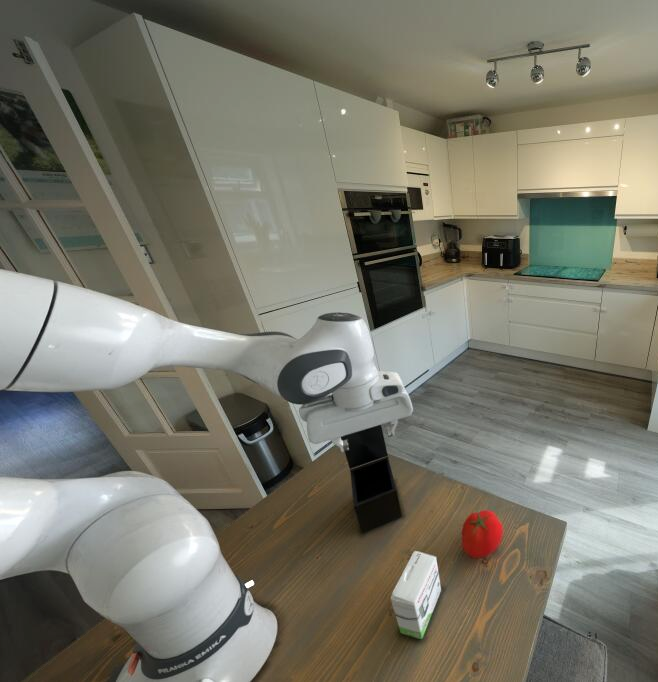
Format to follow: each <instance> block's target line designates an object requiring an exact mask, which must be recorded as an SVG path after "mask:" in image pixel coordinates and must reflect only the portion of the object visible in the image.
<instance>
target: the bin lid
mask: <svg viewBox="0 0 658 682" xmlns="http://www.w3.org/2000/svg"><path fill="white" fill-rule="evenodd" d="M340 439H341V440H343V441H344V440H347V442H348V446H349V450H348V451H345V452H344V454H345V457H346V461H347V465H348V468H349V470H350V469H353V468H356V467H359V466H362V465H365V464H368V463H371V462H373V461H376V460H379V459H382V458H385V457H389V455H388V450H387V444H386V440H385V436H384V431H383V427H382V424H381V425H378V426H375V427H371V428H368V429H365V430H361V431H358V432H355V433H351V434H348V435H345V436H342V437H340Z"/></svg>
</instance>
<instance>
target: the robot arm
mask: <svg viewBox="0 0 658 682" xmlns="http://www.w3.org/2000/svg"><path fill="white" fill-rule="evenodd" d="M374 357H375V351H374V345H373V342H372V337H371V334H370V331H369V328H368V325H367V323H366V321H365V320H364V318H362V317H361V316H359V315H356V314H353V313H349V312H327V313H323V314H321V315H319V316H317V318H316V320H315V322H314V324H313V325H312V327H311V328H310V329H309V330H308V331H307V332H306V333H305V334H303V335H302V337H300V338H299V339H298V338H296V337H294V336H293V335H291V334H288V333H286V332H283V331H263V332H262V331H261V332H253V333H237V332H231V331H225V330H220V329H215V328H210V327H206V326H205V327H204V326H200V325H194V324H189V323H185V322H179V321H177V320H173V319H171V318H170V317H169V318H168V317H166V316H163V315H162V314H159V313H157V312H155V311H153V310H150V309H149V308H146V307H144V306H141V305H139V304H136V303H134V302H131V301H127V300H125V299H122V298H119V297H116V296H113V295H110V294H107V293H103V292H100V291H96V290H94V289H89V288H85V287H82V286H79V285H74V284H71V283H67V282H62V281H59V280H53V279H50V278H46V277H45V278H44V277H40V276H36V275H31V274H27V273H23V272H22V273H21V272H18V271H13V270H7V269H3V268H0V391H2V390H4V391H15V392H17V391H18V392H32V393H33V392H35V393H37V392H38V393H69V392H70V393H75V392H77V393H78V392H93V391H108V390H109V391H110V390H115V389H118V388H120V387H123V386H126V385H128V384H131V383H132V382H134V381H136V380H138V379H140V378H141V377H144V375H146V374H147V373H148V372H150V371H151V370H153V369H156V368H162V367H183V368H191V369H192V368H193V369H194V368H195V369H205V370H218V371H224V372H225V371H227V372H233V373H236V374H238V375H240V376H241V377H243V378H245V379H246V380H249V381H251V382H253V383H255V384H257V385H260V386H261V387H262V388H264V389H266V390H268V391H270V392H271V393H272V394H274V395H276V396H277V397H279V398H282V399H283V400H285V401H286V402H288V403H290V404H293V405H299V406H300V405H301V406H300V407H299V409H298V413H299V417H300V419H301V420H302V421H303V422H305V423H306V431H307V437H308V441H309V443H311V444H314V445H319V444H322V443H325V442H328V441H331V443H332V444H333V445H335V446H336V447H338V448H339V449H340V452H341V453H345V451H348V450H349V446H348V442H347V440H344V441H343V440H341V437H342V436H345V435H348V434H351V433H355V432H358V431H361V430H365V429H368V428H371V427H375V426H378V425H381V426H382V425H385V424H387V423H390V424H389V426H385V430H386V435H387V437H388V438H392V437H394V436H396V432H395V430H396V428H397V427H398V424H399V420H401V419H404V418H407V417H410V416H411V415H412V414H413V412H414V407H413V403H412V400H411V397H410V395H409V392H408V391H407V389H406V386H405V385H404V383H403V380H402V378H401V376H400V375H399V373H398V372H397V371H390V370H389V371H387V370H378V368H377V367H376V365H375V362H374ZM41 571H56V572H61V573H65V574H68V575H69V576H70V577H71V579H72V580H73V582H74V584H75V586H76V588H77V590H78V592H79V594H80V596H81V598H82V601H84V603H86V605H88V606H89V607H90V608H91V609H92V610H93V611H95V612H96V613H98V614H99V615H100V616H102V617H103V618H104V619H106V620H107V621H109V622H110V623H112V624H114V625H117V626H119V627H120V628H122V629H123V630H124V631H125V632H127V633H128V635H129V636H130V637H132V638H133V640H134V641H135V643H134V646H133V648H132V651H131V653H132V654H131V655H130V657H128V659H127V661H126V663H124V664H121V665H118V666H115V667H114V668H113V670H112V672H111V674H110V675H109V678H108V679H107V681H106V682H252V680H253V679H254V678H255V677H256V675H257V674H258V673H259V672H260V671H261V669H262V667H263V666H264V665H265V663H266V661H267V660H268V658H269V656H270V655H271V652H272V650H273V647H274V645H275V642H276V638H277V635H278V621H277V617H276V615H275V614H274V612H273V611H272V610H271V609H269V608H266V607H264V606H261V605H260V604H258V603H257V602H255V601H254V599H253V595H252V593H251V591H250V590H249V588H250V587H252V586H254V585H255V582H254V581H253V580H250V581H248V582H246V583H245V582H244V581H243V580H242V578H241V577H240V576H239V575H237V574H235V573H234V572H233V570H232V569H231V567H230V565H229V564H228V562H227V560H226V559H225V557H224V556H223V553H222V550H221V546H220V544H219V541H218V538H217V536H216V534H215V531H214V529H213V528H212V525H211V524H210V522H209V520H208V519H207V518H206V517H205V516H204V515H203V514H202V513H201V512H200V511H199V510H198V509H197V508H196V507H195V506H193V505H192V504H191V502H190V501H188V500H187V499H186V498H184V497H183V496H182V495H181V494H180V492H178V490H176V489H175V488H174V487H173V486H172V485H171V483H169V482H168V481H166V480H164V479H162V478H160V477H157V476H154V475H152V474H149V473H145V472H142V471H138V470H137V471H136V470H123V471H116V472H112V473H107V474H105V475H101V476H99V477H98V476H97V477H79V478H78V477H77V478H26V477H25V478H23V477H13V476H1V475H0V580H1V581H2V580H5V579H7V578H12V577H16V576H21V575H24V574H29V573H35V572H41Z"/></svg>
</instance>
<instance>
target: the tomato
mask: <svg viewBox="0 0 658 682" xmlns="http://www.w3.org/2000/svg"><path fill="white" fill-rule="evenodd" d="M503 534H504V528H503V524H502V522H501V521H500V520H499V518H498V516H497V515H496V514H495V513H494V512H493V511H491V510H486V509H484V510H481V511H477V512H471V514H469V515H468V517H466V518H465V520H464V522H463V525H462V529H461V547H462V549H463V550H464V552H465V553H466V554H467V555H468V556H469V557H471V558H473V559H480V558H486V557H488V556H490V555H491V554H493V553H494V552H496V550H497V549H498V548H499V545H500V543H501V542H502V538H503Z"/></svg>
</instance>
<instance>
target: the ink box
mask: <svg viewBox="0 0 658 682" xmlns="http://www.w3.org/2000/svg"><path fill="white" fill-rule="evenodd" d="M441 592H442V587H441V581H440V573H439V567H438V561H437V556H436V555H432V554H429V553H425V552H422V551H417V550H415V551H413V553H412V554H411V556H410V558H409V560H408V562H407V563H406V566H405V567H404V569H403V571H402V573H401V575H400V577H399V579H398V580H397V582H396V585H395V587H394V589H393V590H392V593H391V596H390V601H391V605H392V608H393V611H394V616H395V619H396V622H397V626H398V629H399V632H400V634H402V635H406V636H409V637H412V638H416V639H418V640H422V639H423V638H424V636H425V633H426V630H427V628H428V625H429V623H430V620H431V617H432V615H433V612H434V610H435V607H436V604H437V602H438V599H439V597H440V594H441Z"/></svg>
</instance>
